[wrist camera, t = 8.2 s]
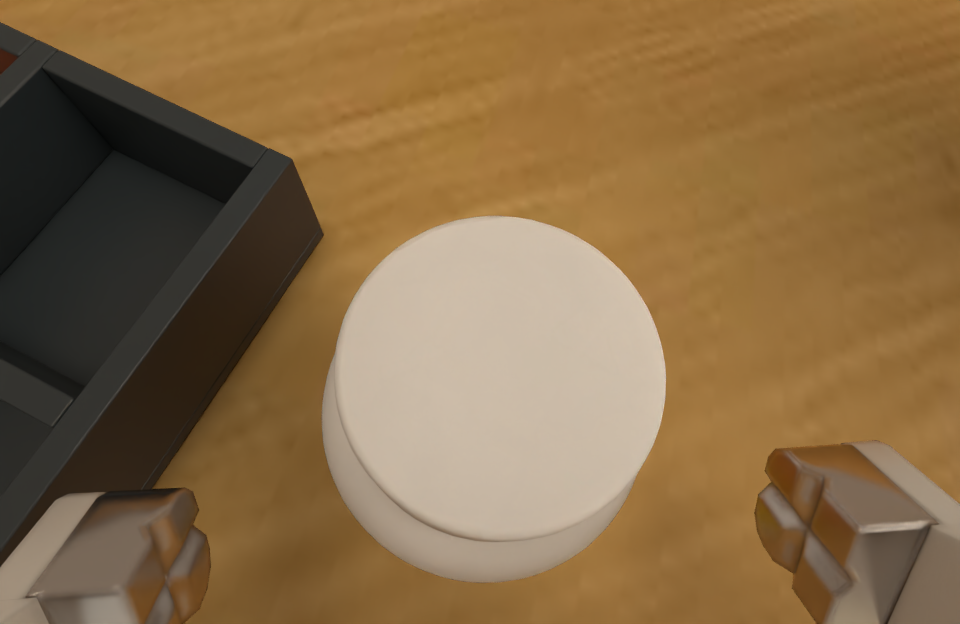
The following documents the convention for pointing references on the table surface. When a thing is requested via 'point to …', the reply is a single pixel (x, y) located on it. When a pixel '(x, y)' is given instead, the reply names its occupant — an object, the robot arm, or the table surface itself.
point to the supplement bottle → (492, 398)
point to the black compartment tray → (122, 274)
